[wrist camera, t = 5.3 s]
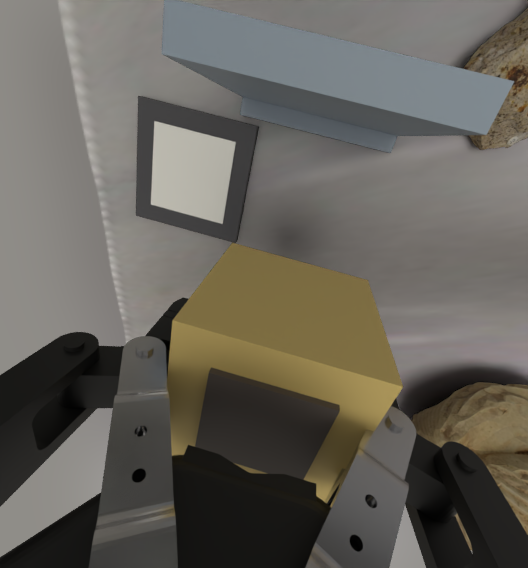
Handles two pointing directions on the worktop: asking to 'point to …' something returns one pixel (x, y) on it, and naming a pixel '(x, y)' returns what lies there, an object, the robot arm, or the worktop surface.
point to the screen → (329, 80)
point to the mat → (192, 168)
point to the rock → (512, 66)
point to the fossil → (487, 435)
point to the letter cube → (279, 367)
